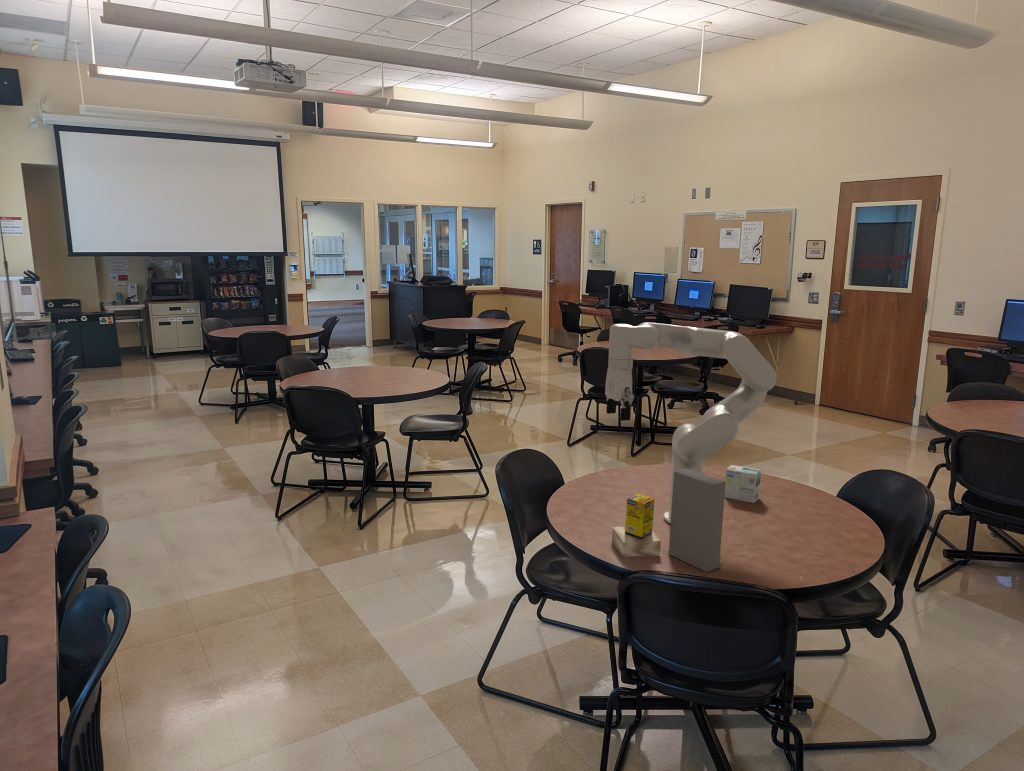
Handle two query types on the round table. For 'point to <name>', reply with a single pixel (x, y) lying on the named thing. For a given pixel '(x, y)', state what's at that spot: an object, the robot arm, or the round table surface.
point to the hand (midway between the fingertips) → (618, 416)
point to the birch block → (635, 543)
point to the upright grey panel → (697, 519)
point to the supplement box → (639, 516)
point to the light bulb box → (742, 483)
